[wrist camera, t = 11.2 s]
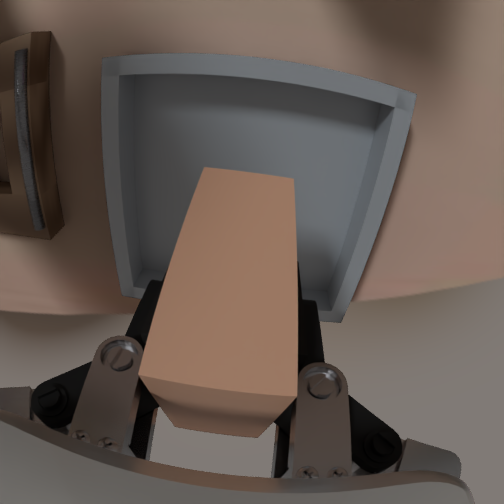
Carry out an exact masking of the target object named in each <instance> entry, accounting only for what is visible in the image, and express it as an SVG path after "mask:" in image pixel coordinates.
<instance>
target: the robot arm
mask: <svg viewBox="0 0 504 504" xmlns="http://www.w3.org/2000/svg"><path fill="white" fill-rule="evenodd" d="M168 267H169V266H168ZM167 271H168V268H167V270H166V273H165V275H164V277H163V280H162V281H159V280H153V279H152V280H151V281H150V282H149V284H148V286H147V288H146V290H145V292H144V294H143V297H142V299H141V301H140V303H139V305H138V307H137V310H136V312H135V314H134V316H133V319H132V321H131V323H130V326H129V328H128V330H127V332H126V335H125V336H115V337H110V338H108V339H107V340H105V341H104V342H102V343H101V344H100V345H99V347H98V349H97V350H96V353H95V355H94V358H93V361H91V362H89V363H87V364H84V365H82V366H80V367H78V368H75V369H73V370H71V371H68V372H66V373H64V374H61V375H59V376H57V377H54V378H52V379H50V380H47V381H45V382H43V383H41V384H40V385H39V386H37V388H36V389H31V388H30V387H29V386H28V387H10V388H0V504H475V502H474V499H473V496H472V493H471V491H470V489H469V488H468V486H467V485H466V483H465V482H463V481H462V480H461V479H460V474H461V462H460V459H459V457H457V455H456V454H455V453H453V452H451V451H448V450H444V449H441V448H438V447H434V446H431V445H427V444H424V443H421V442H418V441H415V440H412V439H408V438H407V439H406V440H403V439H400V437H399V435H398V434H397V433H396V432H395V431H394V430H393V429H392V428H391V427H389V426H388V425H387V424H385V423H384V422H383V421H381V420H380V419H379V418H378V417H376V416H375V415H374V414H372V413H371V412H370V411H369V410H367V409H366V408H365V407H364V406H362V405H361V404H360V403H358V402H357V401H356V400H355V399H353V398H352V397H351V396H350V395H348V385H347V381H346V378H345V376H344V375H343V373H342V372H341V371H340V370H339V369H338V368H336V367H334V366H332V365H331V364H327V363H325V361H324V353H323V345H322V337H321V329H320V322H319V315H318V308H317V303H316V301H315V300H306V299H302V289H301V280H300V270H299V262H298V261H297V280H298V380H297V397H296V398H295V399H294V400H293V402H292V403H291V404H290V405H289V406H288V407H287V408H286V409H285V410H284V411H283V412H282V413H281V414H280V415H279V417H278V418H277V419H276V420H275V421H274V423H275V424H276V433H275V443H274V453H273V462H272V472H271V478H262V477H247V476H235V475H226V474H218V473H211V472H204V471H197V470H190V469H185V468H179V467H175V466H170V465H164V464H160V463H155V462H152V461H149V459H150V453H151V446H152V440H153V434H154V428H155V422H156V416H157V410H158V407H160V406H159V404H158V403H157V402H156V400H155V399H154V397H153V396H152V394H151V393H150V392H149V390H148V389H147V387H146V386H145V384H144V383H143V381H142V380H141V378H140V377H139V375H138V373H139V369H140V365H141V361H142V357H143V353H144V349H145V346H146V342H147V338H148V335H149V331H150V327H151V324H152V320H153V317H154V313H155V310H156V307H157V303H158V300H159V296H160V293H161V290H162V287H163V283H164V280H165V277H166V274H167Z"/></svg>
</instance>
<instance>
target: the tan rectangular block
mask: <svg viewBox="0 0 504 504" xmlns="http://www.w3.org/2000/svg"><path fill="white" fill-rule="evenodd" d="M138 375H139V377H140V378H141V380H142V381H143V383H144V384H145V386H146V387H147V389H148V390H149V392H150V393H151V394H152V396H153V397H154V399H155V400H156V402H157V403H158V404H159V406H160V407H161V408H162V410H163V411H164V413H165V414H166V415H167V417H168V418H169V419H170V421H171V422H172V423H173V425H174V426H175V427H179V428H185V429H190V430H196V431H203V432H209V433H216V434H224V435H232V436H242V437H254V438H258V437H259V436H260V435H261V434H262V433H263V432H264V431H265V430H266V429H267V427H269V426H270V425H271V424H272V423H273V422H274V421H275V420H276V419H277V418H278V417H279V415H280V414H281V413H282V412H283V411H284V410H285V409H286V408H287V407H288V406H289V405H290V404H291V403H292V402H293V400H294V399H295V398H296V397H297V380H298V280H297V240H296V212H295V190H294V179H293V178H287V177H280V176H273V175H266V174H259V173H252V172H244V171H236V170H227V169H218V168H209V167H204V169H203V171H202V174H201V176H200V179H199V182H198V184H197V187H196V190H195V192H194V195H193V198H192V200H191V203H190V206H189V209H188V211H187V214H186V217H185V220H184V223H183V226H182V229H181V231H180V234H179V237H178V240H177V243H176V246H175V249H174V252H173V255H172V258H171V261H170V264H169V267H168V271H167V274H166V277H165V280H164V283H163V287H162V290H161V293H160V296H159V300H158V303H157V307H156V310H155V313H154V317H153V320H152V324H151V327H150V331H149V335H148V338H147V342H146V346H145V349H144V353H143V357H142V361H141V365H140V369H139V373H138Z"/></svg>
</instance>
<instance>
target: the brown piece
mask: <svg viewBox="0 0 504 504" xmlns="http://www.w3.org/2000/svg"><path fill="white" fill-rule="evenodd" d="M50 38H51V31H44V32H30V33H27V34H24V35H21V36H18V37H15V38H13V39H10V40H7V41H5V42H2V43H0V107H1V121H2V131H3V140H4V148H5V155H6V162H7V168H8V174H9V179H10V182H0V232H1V233H7V234H14V235H20V236H27V237H34V238H40V239H47V240H51V239H52V238H53V237H54V236H55V235H56V234H57V233H58V232H59V230H60V229H61V228H62V227H63V226H64V221H63V216H62V211H61V205H60V200H59V194H58V188H57V181H56V174H55V167H54V159H53V150H52V139H51V127H50V109H49V55H50Z"/></svg>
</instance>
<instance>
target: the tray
mask: <svg viewBox="0 0 504 504" xmlns="http://www.w3.org/2000/svg"><path fill="white" fill-rule="evenodd" d="M416 96H417V94H415V93H412V92H409V91H406V90H403V89H400V88H397V87H394V86H391V85H388V84H385V83H381V82H378V81H374V80H371V79H367V78H364V77H360V76H356V75H352V74H348V73H344V72H340V71H335V70H331V69H326V68H321V67H317V66H311V65H306V64H300V63H294V62H288V61H281V60H274V59H267V58H258V57H248V56H237V55H224V54H202V53H159V54H138V55H124V56H114V57H104V58H102V75H101V128H102V151H103V166H104V178H105V189H106V199H107V207H108V216H109V223H110V230H111V237H112V244H113V250H114V256H115V262H116V267H117V273H118V278H119V283H120V288H121V293H122V296H127V297H132V298H138V299H142V297H143V294H144V292H145V290H146V288H147V286H148V284H149V282H150V281H151V280H152V279H153V280H159V281H162V280H163V277H164V275H165V273H166V270H167V268H168V266H169V264H170V261H171V258H172V255H173V252H174V249H175V246H176V243H177V240H178V237H179V234H180V231H181V229H182V226H183V223H184V220H185V217H186V214H187V211H188V209H189V206H190V203H191V200H192V198H193V195H194V192H195V190H196V187H197V184H198V182H199V179H200V176H201V174H202V171H203V169H204V167H209V168H218V169H227V170H236V171H244V172H252V173H259V174H266V175H273V176H280V177H287V178H293V179H294V190H295V212H296V240H297V261H298V262H299V270H300V280H301V289H302V299H306V300H315V301H316V303H317V308H318V315H319V321H324V322H338V323H341V321H342V319H343V317H344V315H345V312H346V310H347V308H348V306H349V304H350V301H351V299H352V296H353V294H354V292H355V289H356V287H357V284H358V282H359V280H360V277H361V275H362V272H363V270H364V267H365V265H366V262H367V259H368V257H369V254H370V251H371V249H372V246H373V243H374V241H375V238H376V235H377V232H378V230H379V227H380V224H381V221H382V218H383V215H384V212H385V209H386V206H387V203H388V200H389V197H390V194H391V191H392V187H393V184H394V181H395V178H396V174H397V171H398V167H399V164H400V160H401V157H402V153H403V150H404V146H405V142H406V138H407V134H408V131H409V126H410V122H411V118H412V114H413V110H414V105H415V101H416Z"/></svg>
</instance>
